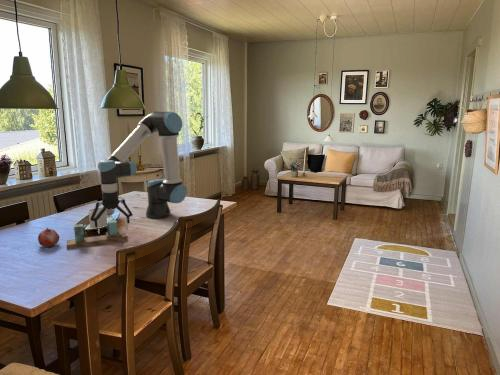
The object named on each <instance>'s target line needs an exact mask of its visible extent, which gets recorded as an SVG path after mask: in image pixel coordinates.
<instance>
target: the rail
mask: <svg viewBox="0 0 500 375" xmlns="http://www.w3.org/2000/svg"><path fill="white" fill-rule="evenodd" d="M85 229H86V228H85V225H84V224H83V223H79V224H73V230H74V239H68V240H66V249H67V250H68V249H75V248H76V249H77V248H82V247H89V246H94V245H95V246H97V245H103V244H104V245H105V244H110V243H116V242H117V243H119V242H124V241H128V236H127V234H126V232H121V230H118V235H111V236H109V234H108V232H105V234H104V235H98V236H97V235H96V236H89V237H86V231H85Z"/></svg>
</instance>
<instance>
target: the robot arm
mask: <svg viewBox="0 0 500 375" xmlns="http://www.w3.org/2000/svg"><path fill="white" fill-rule="evenodd" d="M182 129H183V119H182V117H181V116H180V115H179V114H178V113H176V112H175V111H159V110H158V111H153V112H150V113H148V114H147V115H146V116H145V117H143V118H142V119H141V120H139V122H138V123H137V125H136V128H135V129H134V130H133V131H132V132H130V134H129V135H128V136H127V137H126V139H125V140H124V141H123V142H122V143H120V145H119V146H118V147H117V148H116V149H115V150H114V151H113V152H112V153H111V155H110V156H108V158H107V159H106V158H105V159H104V158H103V159H101V160H100V161H99V162H98V165H97V168H98V171H99V175H100V187H101V188H100V189H101V198H102V201H98V200H96V202H95V207H94V208H95V209H94V208H93V209H94V211H93V213H92V216H91V218H90V219H89V221H90V220H91V221H94V222H95V227H98V231H97V233H98V235H99V234H100V233H101V232H100V229H99V220H98V219H99V218H100V216H101V215H102V214H103V213H104V211H105V210H106V211H107V210H109V211H110V210H116V209H117V210H118V211H119V212H120V213H121V214H123V215H124V221H125V222H124V223H125V230H126V231H129V229H128V228H129V227H128V226H129V225H128V224H130V217H133V212H132V211H131V209H130V208H129V207H128V205H127V204H126V199H125V198H122V199H119V191H118V179H119V178H125V177H131V176H135V175H136V174H137V171H138V168H137V164H136V163H135V161H130V160H129V161H127V159H128V158H129V157H130V156H131V155H132V154H133V153H134V152H135V151H136V150H137V148H138V147H139V146H140V145H141V144H142V143H143V142H144V140H146V139H147V137H151V136H152V134H153V133H156V132H158V133H157V134H158V137H159V138H160V139H161V150H162V163H163V173H164V174H163V175H164V178H156V179H151V180H148V182H147V184H146V186H147V187H146V190H147V191H146V192H147V202H148V203H147V208H146V211H145V217H147V218H149V219H158V220H159V219H164V218H168V217H171V213H172V212H171V210H170V209H171V208H170V206H169V204H168V203H171V204H181V203H182V202H183V201H184V200H185V198H186V196H187V193H188V190H187V187H186V186H185V185H184V184H183V180H182V179H181V178H180V171H179V170H180V168H179V167H180V166H179V157H178V156H179V154H178V144H177V142H178V141H177V138H178V136H180V135H179V134H180V132H181V130H182ZM119 204H122V205H123V207H124V208H125V210H126V211H127V212H126V211H125V210H124V209H123V208H122V207H120V206H119ZM101 205H102V206H103V207H101V208H102V210H101V211H100V212H99V213H98V215H97V216H96V217H95V215H96V212H97V210H98V208H100V206H101ZM94 217H95V218H94Z"/></svg>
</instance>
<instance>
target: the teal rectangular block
mask: <svg viewBox="0 0 500 375" xmlns="http://www.w3.org/2000/svg"><path fill="white" fill-rule="evenodd" d="M106 231H107V232H108V234H109V236H111V235H118V231H119V230H118V221H117V220H116V219H113V220H107V227H106Z"/></svg>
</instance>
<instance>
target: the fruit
mask: <svg viewBox="0 0 500 375" xmlns="http://www.w3.org/2000/svg"><path fill="white" fill-rule="evenodd" d="M37 241H38V243H39V245H40V246H43V247H45V248H51V247H53V246H55V245H56V244H58V242H59V241H60V235H59V234H58V232H57V231H56V230H54V229H51V228H48V227H46V229H44V230H42V231H41V232H39V234H38V236H37Z"/></svg>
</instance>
